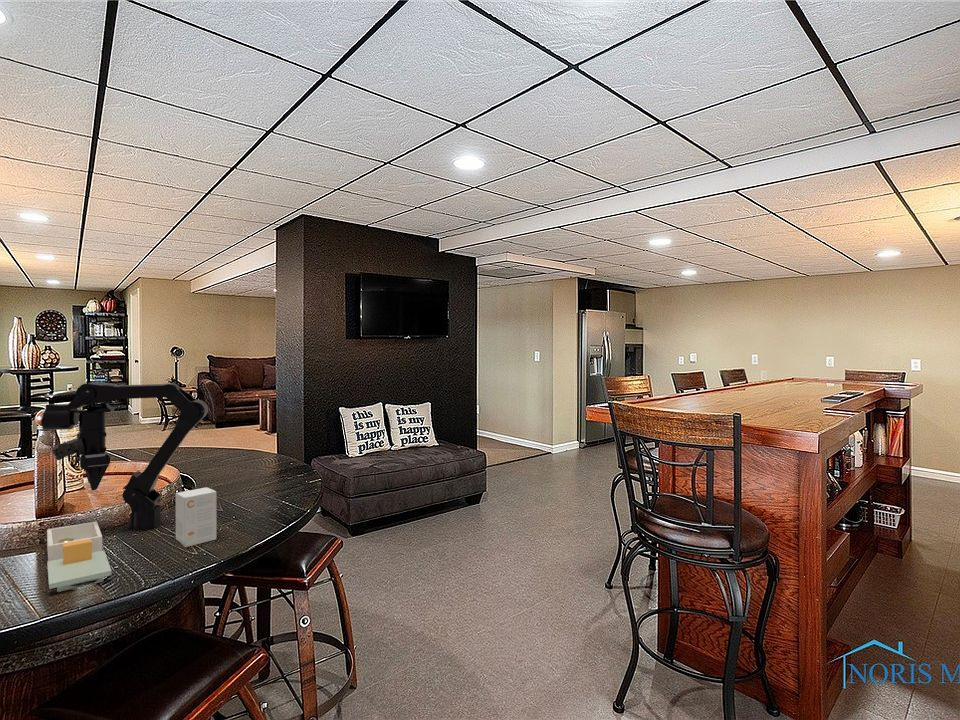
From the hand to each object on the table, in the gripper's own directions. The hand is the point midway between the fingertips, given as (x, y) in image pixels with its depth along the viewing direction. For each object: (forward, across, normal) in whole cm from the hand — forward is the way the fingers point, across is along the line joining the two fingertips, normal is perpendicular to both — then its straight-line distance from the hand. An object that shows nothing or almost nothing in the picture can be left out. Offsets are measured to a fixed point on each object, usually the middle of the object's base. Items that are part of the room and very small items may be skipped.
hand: (92, 486), depth 140 cm
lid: (+13, +30, -5) cm, 33 cm away
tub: (+13, +13, -5) cm, 19 cm away
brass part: (+12, +11, -6) cm, 17 cm away
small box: (+13, +22, +20) cm, 33 cm away
